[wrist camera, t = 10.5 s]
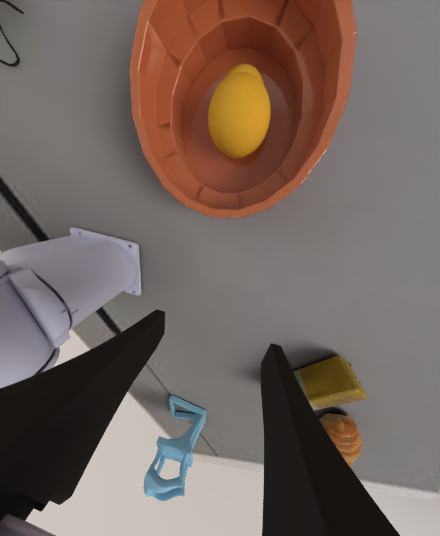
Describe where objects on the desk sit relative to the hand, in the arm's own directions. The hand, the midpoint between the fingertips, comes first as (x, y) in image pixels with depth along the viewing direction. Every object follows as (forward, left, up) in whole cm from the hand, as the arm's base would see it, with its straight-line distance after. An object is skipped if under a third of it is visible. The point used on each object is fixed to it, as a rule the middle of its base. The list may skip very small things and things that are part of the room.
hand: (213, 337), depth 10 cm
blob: (-2, +13, -9) cm, 16 cm away
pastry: (+23, -24, -8) cm, 34 cm away
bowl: (-2, +13, -9) cm, 16 cm away
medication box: (+14, -13, -10) cm, 21 cm away
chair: (-2, -36, -10) cm, 37 cm away
